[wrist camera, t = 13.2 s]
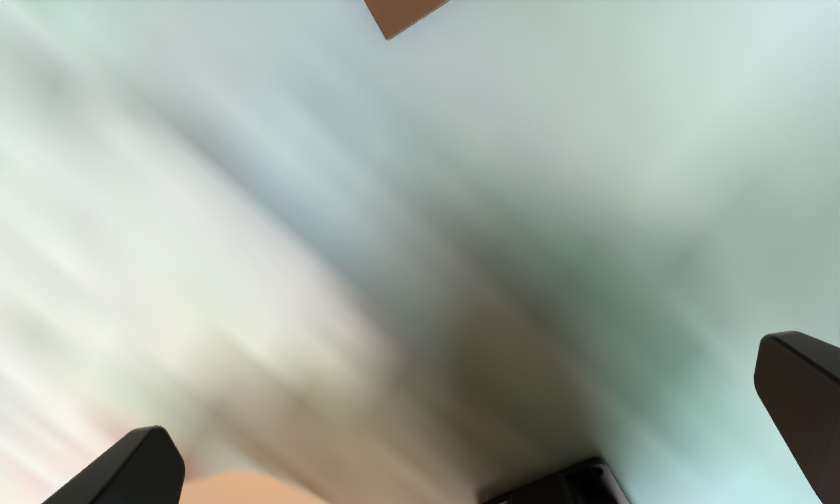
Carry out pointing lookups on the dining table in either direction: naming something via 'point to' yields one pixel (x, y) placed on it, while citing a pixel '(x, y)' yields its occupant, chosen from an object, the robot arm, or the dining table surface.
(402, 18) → the collar plate
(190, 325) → the dining table surface
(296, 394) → the dining table surface
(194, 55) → the dining table surface
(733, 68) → the dining table surface
